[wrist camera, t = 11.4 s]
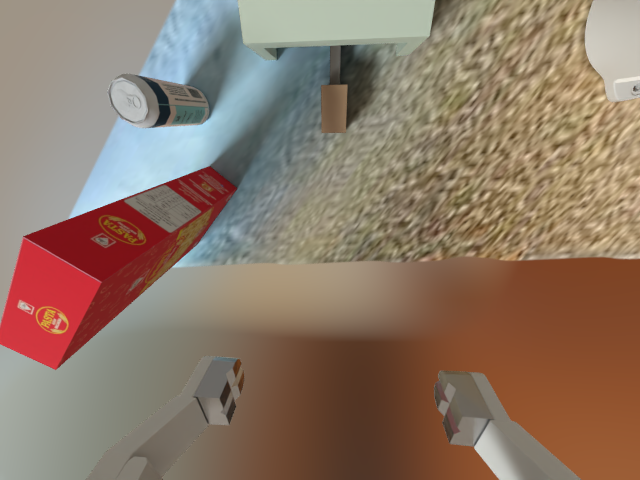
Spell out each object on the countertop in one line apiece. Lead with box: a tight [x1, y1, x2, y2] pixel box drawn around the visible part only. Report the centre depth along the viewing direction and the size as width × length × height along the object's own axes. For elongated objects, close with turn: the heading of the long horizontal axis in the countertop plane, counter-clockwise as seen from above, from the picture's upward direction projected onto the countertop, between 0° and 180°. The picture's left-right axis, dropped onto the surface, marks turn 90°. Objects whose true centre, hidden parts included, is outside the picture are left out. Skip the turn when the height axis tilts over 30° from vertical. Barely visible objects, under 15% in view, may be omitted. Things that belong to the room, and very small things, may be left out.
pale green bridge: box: [238, 0, 435, 60], centre depth 25 cm, size 18×8×8 cm, turn 91°
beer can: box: [107, 74, 209, 128], centre depth 29 cm, size 5×5×12 cm
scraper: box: [321, 45, 347, 133], centre depth 28 cm, size 6×16×5 cm, turn 1°
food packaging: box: [0, 166, 237, 370], centre depth 30 cm, size 15×5×25 cm, turn 138°
